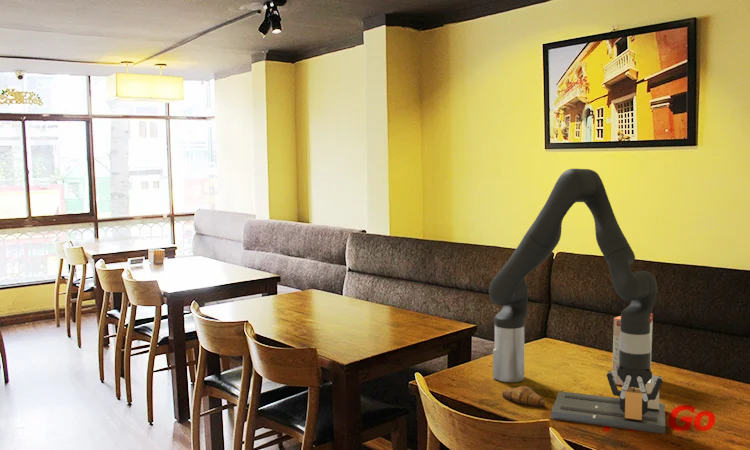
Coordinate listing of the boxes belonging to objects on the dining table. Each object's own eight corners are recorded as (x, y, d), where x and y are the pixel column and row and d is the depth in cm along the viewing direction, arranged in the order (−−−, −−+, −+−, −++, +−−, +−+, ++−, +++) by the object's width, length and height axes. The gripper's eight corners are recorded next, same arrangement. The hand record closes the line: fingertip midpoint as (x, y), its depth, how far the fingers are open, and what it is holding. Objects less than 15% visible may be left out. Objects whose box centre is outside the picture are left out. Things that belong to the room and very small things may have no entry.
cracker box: (629, 389, 194) (630, 320, 192) (611, 383, 199) (612, 317, 197) (652, 377, 203) (653, 312, 201) (634, 373, 208) (635, 309, 206)
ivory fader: (642, 407, 174) (643, 381, 173) (643, 400, 178) (643, 375, 178) (658, 409, 172) (659, 383, 172) (658, 402, 177) (659, 377, 176)
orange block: (624, 418, 167) (625, 391, 167) (625, 410, 172) (626, 384, 171) (641, 420, 166) (642, 393, 165) (642, 412, 170) (642, 386, 170)
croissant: (550, 405, 184) (550, 388, 184) (538, 412, 179) (538, 394, 179) (509, 393, 193) (509, 377, 193) (496, 400, 189) (496, 383, 188)
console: (550, 419, 173) (550, 411, 173) (559, 396, 189) (559, 389, 189) (665, 435, 162) (665, 426, 162) (664, 409, 178) (664, 402, 178)
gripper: (604, 350, 166) (603, 414, 168) (665, 355, 161) (663, 422, 162) (606, 342, 173) (605, 404, 175) (664, 347, 168) (663, 411, 169)
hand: (633, 412), depth 169 cm, fingers closed on orange block, 4 cm apart
